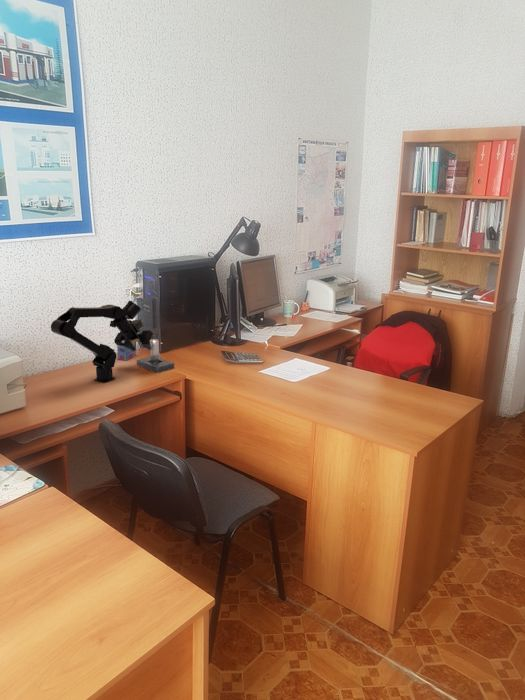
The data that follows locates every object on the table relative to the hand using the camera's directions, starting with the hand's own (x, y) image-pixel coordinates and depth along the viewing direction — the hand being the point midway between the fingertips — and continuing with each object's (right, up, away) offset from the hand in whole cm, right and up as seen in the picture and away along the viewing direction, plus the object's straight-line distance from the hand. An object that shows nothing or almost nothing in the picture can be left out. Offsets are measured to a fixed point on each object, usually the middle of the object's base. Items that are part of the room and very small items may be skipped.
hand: (142, 349), depth 258 cm
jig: (+5, -8, +5) cm, 11 cm away
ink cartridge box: (-12, -4, +18) cm, 22 cm away
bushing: (+5, -8, +5) cm, 11 cm away
